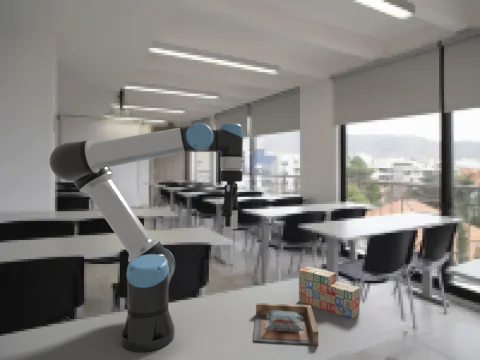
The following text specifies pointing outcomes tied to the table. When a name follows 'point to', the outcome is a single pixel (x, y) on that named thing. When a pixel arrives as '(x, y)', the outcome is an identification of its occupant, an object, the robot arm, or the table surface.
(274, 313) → the packaged food
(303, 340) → the corner arena
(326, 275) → the stack of blocks
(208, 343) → the table surface
